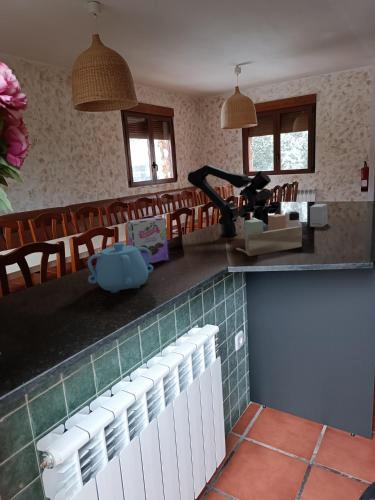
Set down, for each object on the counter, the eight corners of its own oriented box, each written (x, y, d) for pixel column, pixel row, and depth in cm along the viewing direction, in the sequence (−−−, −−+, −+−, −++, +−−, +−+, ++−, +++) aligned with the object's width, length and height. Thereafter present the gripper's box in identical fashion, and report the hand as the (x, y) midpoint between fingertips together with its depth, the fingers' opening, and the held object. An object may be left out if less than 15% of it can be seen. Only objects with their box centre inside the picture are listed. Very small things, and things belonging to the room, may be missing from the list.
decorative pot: (127, 299, 97) (122, 251, 93) (84, 292, 104) (78, 248, 101) (159, 280, 111) (155, 238, 107) (119, 275, 118) (114, 236, 115)
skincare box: (315, 223, 187) (315, 203, 185) (327, 223, 184) (328, 203, 181) (309, 226, 179) (309, 206, 177) (322, 227, 175) (322, 206, 173)
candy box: (135, 266, 128) (130, 222, 124) (130, 263, 133) (125, 220, 129) (169, 260, 134) (166, 217, 130) (163, 257, 139) (159, 216, 135)
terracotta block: (268, 243, 148) (268, 215, 145) (278, 242, 149) (278, 214, 147) (275, 245, 143) (275, 216, 140) (285, 244, 145) (285, 215, 142)
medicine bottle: (298, 236, 157) (298, 210, 155) (302, 240, 151) (302, 212, 148) (282, 237, 158) (282, 211, 155) (285, 241, 151) (284, 213, 148)
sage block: (245, 250, 139) (244, 220, 136) (256, 248, 140) (255, 219, 137) (252, 253, 134) (251, 222, 131) (263, 251, 136) (263, 220, 133)
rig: (233, 249, 142) (233, 230, 140) (282, 241, 151) (282, 223, 149) (250, 256, 131) (249, 235, 129) (301, 246, 140) (301, 226, 138)
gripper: (241, 186, 148) (256, 214, 141) (277, 182, 155) (294, 209, 147) (232, 203, 157) (246, 231, 150) (267, 199, 164) (282, 225, 156)
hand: (267, 224), depth 150 cm, fingers closed
